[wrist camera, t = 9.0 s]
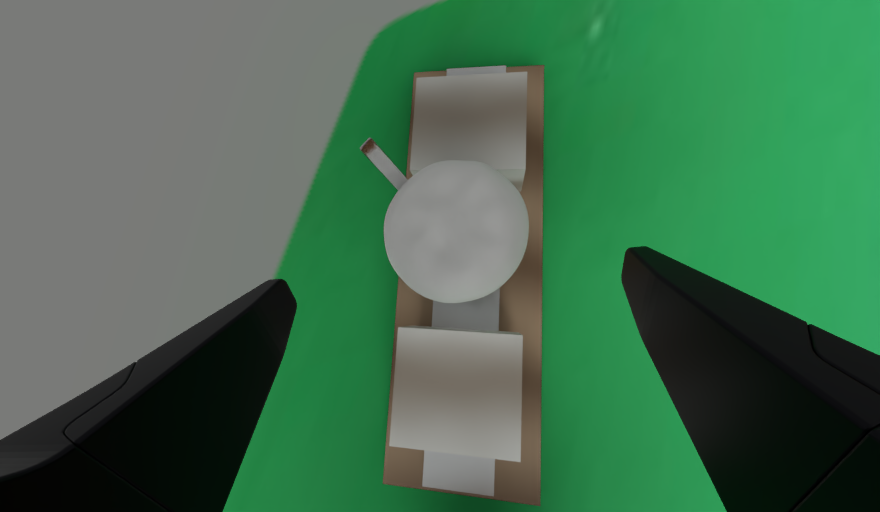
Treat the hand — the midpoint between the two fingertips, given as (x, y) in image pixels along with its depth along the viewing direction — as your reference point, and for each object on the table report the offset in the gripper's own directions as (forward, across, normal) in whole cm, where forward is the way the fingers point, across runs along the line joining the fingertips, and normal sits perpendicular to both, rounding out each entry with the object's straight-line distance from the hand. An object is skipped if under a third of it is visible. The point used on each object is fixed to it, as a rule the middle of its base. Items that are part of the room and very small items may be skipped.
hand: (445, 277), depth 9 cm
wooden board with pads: (+10, 0, +7) cm, 12 cm away
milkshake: (+8, 0, +5) cm, 10 cm away
